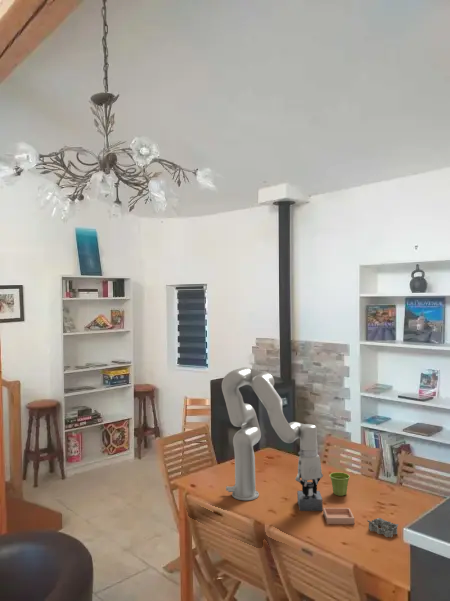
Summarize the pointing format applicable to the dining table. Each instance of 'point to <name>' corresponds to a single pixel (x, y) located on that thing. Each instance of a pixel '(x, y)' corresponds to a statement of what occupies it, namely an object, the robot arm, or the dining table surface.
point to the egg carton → (383, 527)
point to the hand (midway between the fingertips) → (309, 493)
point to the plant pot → (339, 483)
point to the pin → (310, 489)
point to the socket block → (310, 502)
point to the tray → (338, 516)
